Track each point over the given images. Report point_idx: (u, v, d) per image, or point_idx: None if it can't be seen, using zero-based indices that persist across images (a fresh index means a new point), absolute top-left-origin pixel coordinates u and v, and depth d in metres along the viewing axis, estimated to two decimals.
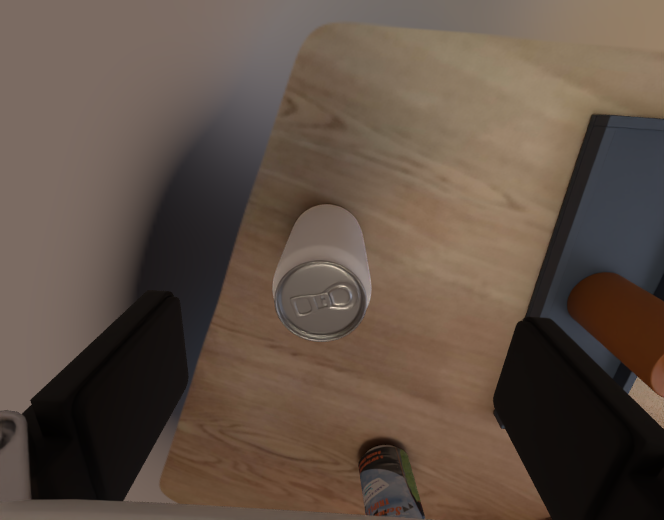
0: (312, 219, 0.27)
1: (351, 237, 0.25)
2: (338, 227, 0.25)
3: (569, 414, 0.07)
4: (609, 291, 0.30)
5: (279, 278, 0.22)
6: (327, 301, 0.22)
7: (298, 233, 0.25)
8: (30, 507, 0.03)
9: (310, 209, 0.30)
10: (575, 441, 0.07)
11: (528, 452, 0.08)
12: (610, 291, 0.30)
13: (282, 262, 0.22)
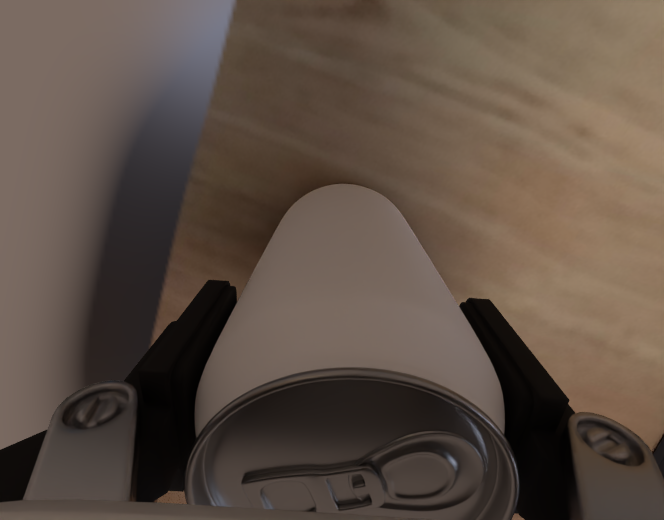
0: (316, 211, 0.11)
1: (421, 257, 0.09)
2: (384, 230, 0.10)
3: None
4: None
5: (205, 408, 0.06)
6: (373, 486, 0.06)
7: (281, 246, 0.10)
8: (30, 507, 0.03)
9: (311, 193, 0.15)
10: None
11: None
12: None
13: (220, 348, 0.07)
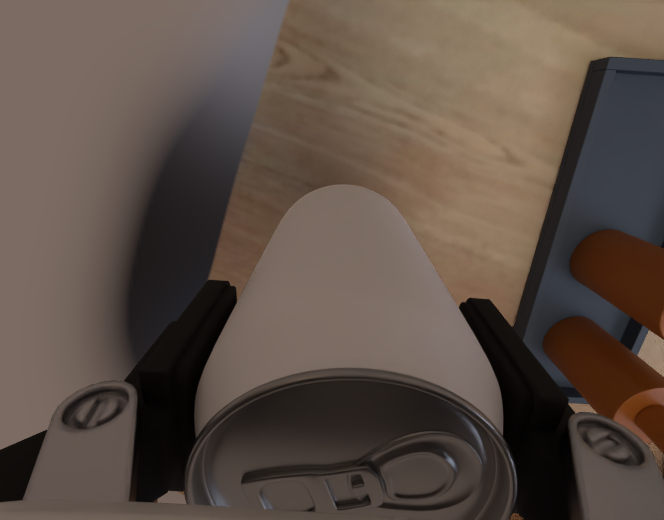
0: (315, 212, 0.12)
1: (420, 258, 0.09)
2: (383, 231, 0.10)
3: None
4: (614, 245, 0.29)
5: (204, 408, 0.06)
6: (371, 486, 0.06)
7: (280, 247, 0.10)
8: (30, 507, 0.03)
9: (310, 194, 0.15)
10: None
11: None
12: (614, 245, 0.29)
13: (219, 349, 0.07)
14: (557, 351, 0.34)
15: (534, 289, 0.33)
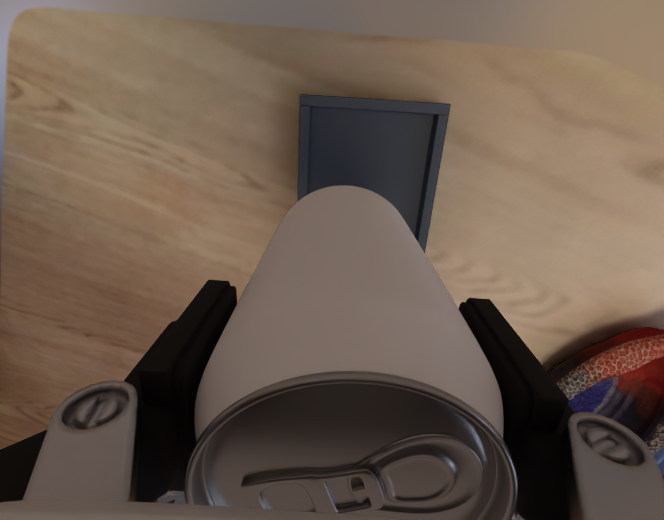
0: (316, 213, 0.12)
1: (420, 259, 0.09)
2: (383, 233, 0.10)
3: None
4: None
5: (205, 410, 0.06)
6: (372, 489, 0.06)
7: (280, 248, 0.10)
8: (30, 507, 0.03)
9: (310, 195, 0.15)
10: None
11: None
12: None
13: (220, 351, 0.07)
14: None
15: None
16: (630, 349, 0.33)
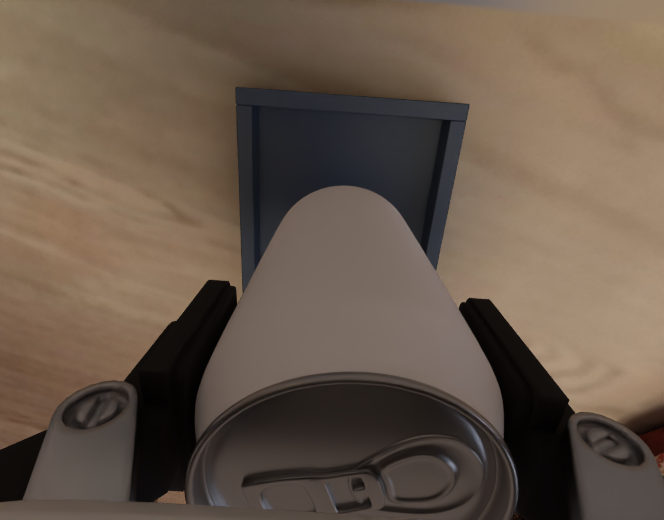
0: (316, 214, 0.12)
1: (420, 260, 0.09)
2: (383, 233, 0.10)
3: None
4: None
5: (205, 411, 0.06)
6: (372, 489, 0.06)
7: (281, 249, 0.10)
8: (30, 507, 0.03)
9: (311, 195, 0.15)
10: None
11: None
12: None
13: (220, 351, 0.07)
14: None
15: None
16: None
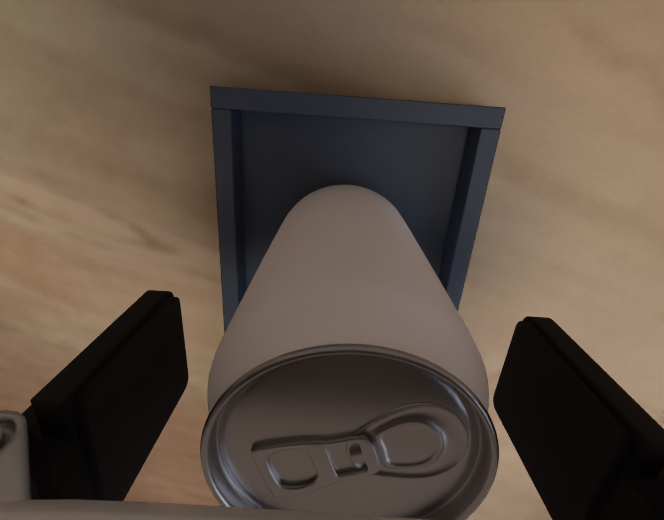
0: (318, 210, 0.12)
1: (415, 252, 0.10)
2: (381, 228, 0.10)
3: (569, 414, 0.07)
4: None
5: (218, 384, 0.07)
6: (368, 454, 0.07)
7: (285, 242, 0.10)
8: (30, 507, 0.03)
9: (313, 193, 0.16)
10: (575, 441, 0.07)
11: (528, 452, 0.08)
12: None
13: (231, 331, 0.07)
14: None
15: None
16: None
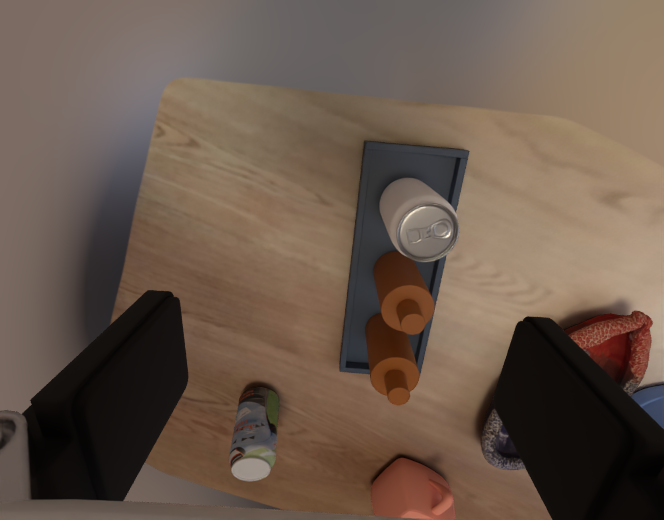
0: (406, 184, 0.38)
1: None
2: (429, 188, 0.36)
3: (569, 414, 0.07)
4: (386, 263, 0.43)
5: (399, 216, 0.32)
6: (431, 232, 0.32)
7: (401, 192, 0.36)
8: (30, 507, 0.03)
9: (397, 180, 0.41)
10: (575, 441, 0.07)
11: (528, 452, 0.08)
12: (386, 263, 0.43)
13: (400, 207, 0.33)
14: (366, 336, 0.48)
15: (348, 291, 0.47)
16: (595, 328, 0.45)
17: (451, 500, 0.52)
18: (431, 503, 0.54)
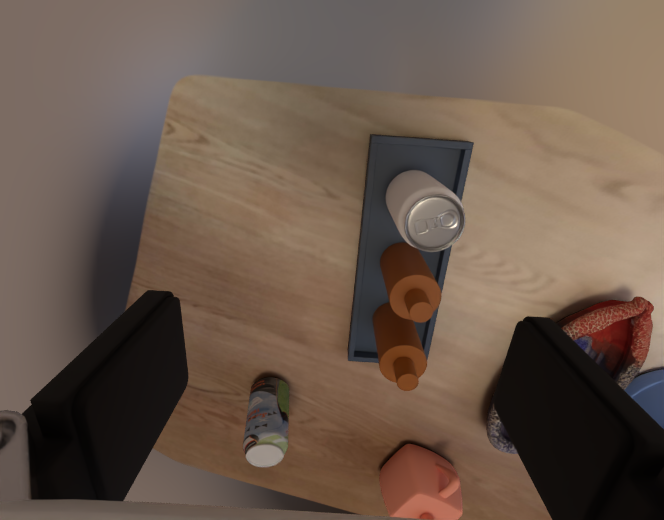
0: (412, 177, 0.38)
1: None
2: (435, 180, 0.37)
3: (569, 414, 0.07)
4: (393, 254, 0.44)
5: (406, 208, 0.33)
6: (438, 223, 0.33)
7: (407, 184, 0.37)
8: (30, 507, 0.03)
9: (403, 173, 0.42)
10: (575, 441, 0.07)
11: (528, 452, 0.08)
12: (393, 253, 0.44)
13: (407, 198, 0.34)
14: (374, 325, 0.49)
15: (355, 282, 0.48)
16: (598, 314, 0.46)
17: (458, 483, 0.53)
18: (439, 486, 0.55)
